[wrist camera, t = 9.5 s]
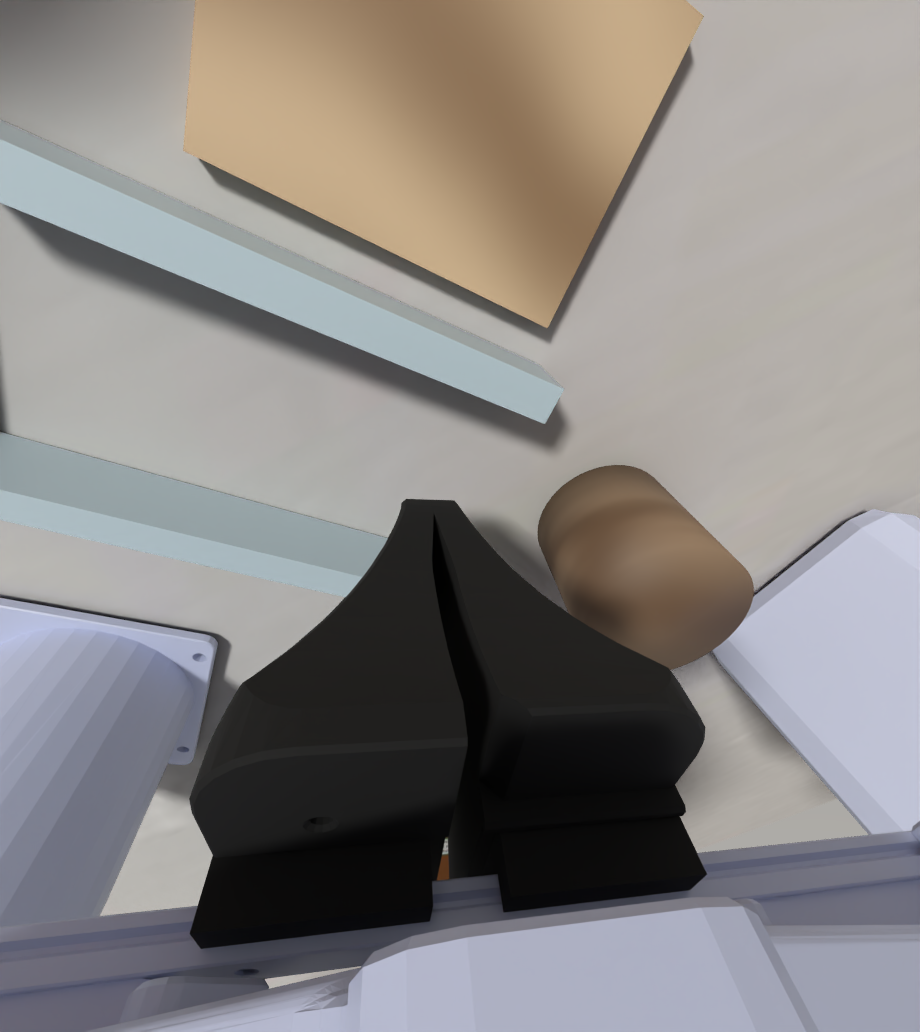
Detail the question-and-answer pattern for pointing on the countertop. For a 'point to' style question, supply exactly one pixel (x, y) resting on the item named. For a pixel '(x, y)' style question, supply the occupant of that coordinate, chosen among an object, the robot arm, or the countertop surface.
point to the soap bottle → (844, 665)
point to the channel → (264, 284)
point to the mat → (440, 122)
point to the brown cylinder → (642, 566)
